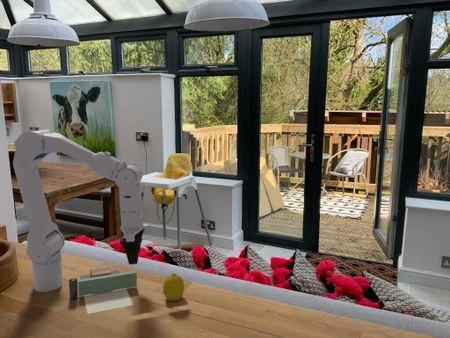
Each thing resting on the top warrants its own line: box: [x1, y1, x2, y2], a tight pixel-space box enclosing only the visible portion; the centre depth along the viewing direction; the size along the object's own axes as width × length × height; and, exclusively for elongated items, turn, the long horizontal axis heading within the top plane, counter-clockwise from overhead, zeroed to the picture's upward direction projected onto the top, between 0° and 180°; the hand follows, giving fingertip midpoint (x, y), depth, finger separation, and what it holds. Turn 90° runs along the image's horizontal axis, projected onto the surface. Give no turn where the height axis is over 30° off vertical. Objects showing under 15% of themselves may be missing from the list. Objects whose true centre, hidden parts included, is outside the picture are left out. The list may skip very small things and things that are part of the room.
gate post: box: [68, 277, 79, 301], centre depth 98 cm, size 2×2×6 cm
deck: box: [79, 270, 134, 315], centre depth 103 cm, size 22×11×1 cm, turn 25°
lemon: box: [162, 272, 185, 302], centre depth 99 cm, size 6×6×8 cm
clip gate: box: [77, 270, 138, 297], centre depth 102 cm, size 1×15×4 cm, turn 115°
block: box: [89, 265, 112, 278], centre depth 107 cm, size 5×5×4 cm
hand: (134, 258), depth 103 cm, fingers open, 7 cm apart
